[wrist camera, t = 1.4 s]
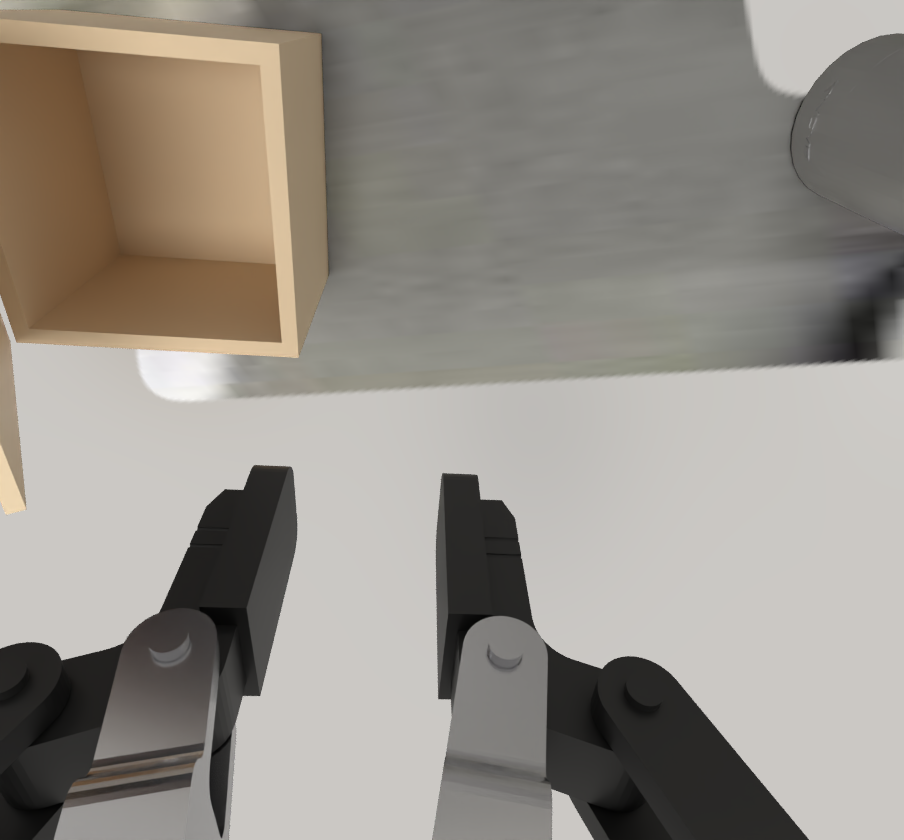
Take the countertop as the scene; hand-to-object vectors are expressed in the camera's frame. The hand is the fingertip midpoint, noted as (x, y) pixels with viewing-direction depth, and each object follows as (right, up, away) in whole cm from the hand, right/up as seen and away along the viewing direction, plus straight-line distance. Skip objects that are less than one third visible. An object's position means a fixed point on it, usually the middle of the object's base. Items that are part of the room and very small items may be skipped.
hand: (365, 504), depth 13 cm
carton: (-13, +18, +25) cm, 33 cm away
